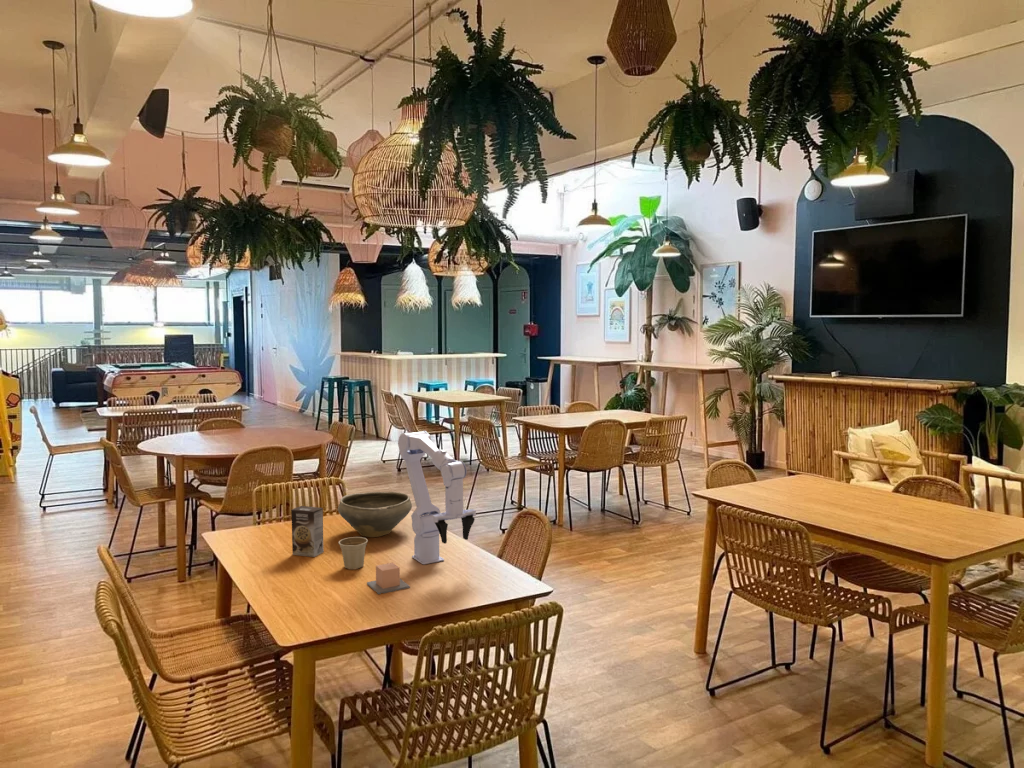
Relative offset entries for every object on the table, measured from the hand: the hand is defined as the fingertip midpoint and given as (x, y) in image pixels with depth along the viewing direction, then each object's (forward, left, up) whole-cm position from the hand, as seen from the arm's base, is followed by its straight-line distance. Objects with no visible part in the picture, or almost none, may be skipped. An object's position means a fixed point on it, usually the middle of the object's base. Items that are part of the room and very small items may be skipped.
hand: (454, 540), depth 235 cm
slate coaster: (0, -23, -10) cm, 25 cm away
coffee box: (-45, -35, -11) cm, 58 cm away
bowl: (-56, -6, -11) cm, 57 cm away
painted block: (0, -23, -10) cm, 25 cm away
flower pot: (-23, -26, -11) cm, 36 cm away
